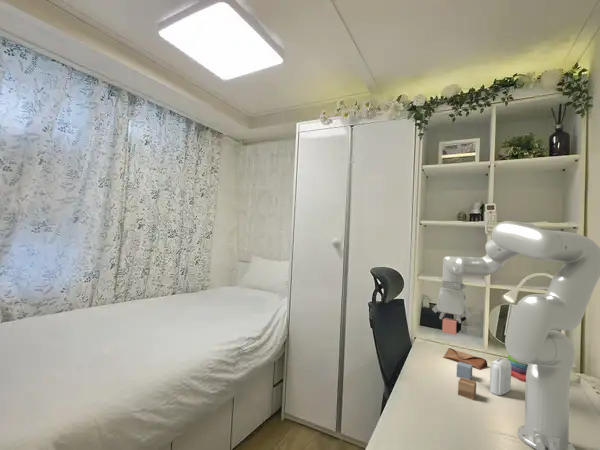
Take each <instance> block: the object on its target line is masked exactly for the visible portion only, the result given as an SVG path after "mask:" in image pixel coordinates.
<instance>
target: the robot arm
mask: <svg viewBox="0 0 600 450" xmlns="http://www.w3.org/2000/svg"><path fill="white" fill-rule="evenodd" d="M484 248H485V252H486V253H487V254H486V255H484V256H482V257H476V256H474V257H473V256H461V255H460V256H453V255H451V256H450V255H446V256H444V257H443V260H442V278H441V279H442V280H441V287H440V289H439V291H438V297H437V303H436V304H435V305H434V306H433V307H432V308H431V310H432V311H433V312H434V313H435V314H436V316H438V318H439V320H440V321H439V327H440V330H442V325H443V319H444V318H445V316H446V314H448V315H449V314H450V315H455V316H456V320H458V321H457V328H456V332H457V334H459V333H460V331H461V332H462V323H463V322H464V321H466V320H468V319H470V318H471V317H472V314H471V313H470V311H469V310H468V308H467V302H466V301H467V299H466V293H465V290H463V289H467V284H464V282H463V280H464V279H463V278H464V277H478V278H481V277H482V278H483V277H487V276H490V275H492V274H494V273H496V272H499V271H500V270H502V269H503V267H504V265H506V263H507V261H509V260H511V259H513V258H515V257H518V256H520V255H522V256H524V257H525V256H526V257H528V258H531V259H534V260H538V261H546V262H547V261H548V262H549V261H550V262H562V263H563V265H562V266H561V267H560V268H559V269H558V270H557V271H556V273H555V274H554V275H553V276H552V279H551V281H550V284H549V286H548V289H547V291H546V292H545V293H532V294H528V295H526V296H523V297H522V298H520V300H519V301H518V302H517V303H516V306H515V308H514V310H513V313H512V316H511V318H510V321H509V324H508V327H507V330H506V334H505V337H504V339H505V340H504V345H505V346H504V347H505V350H506V352H507V353H508V354H509V355H510V357H511V358H512V359H514V360H515V361H517V362H519V363H522V364H527V365H528V367H527V372H526V382H525V388H524V389H525V395H524V396H525V397H524V398H525V399H524V400H525V401H524V425H520V426H519V427H518V428H517V435H518V437H520V439H521V440H522V441H523V442H524V443H525V444H527V445H528V446H530V447H531V448H533V449H535V450H576V447H575V446H574V445H573V444H572V443H571V442H570V440H569V433H570V432H569V430H570V429H569V428H570V427H569V426H570V390H571V389H570V388H571V386H570V384H571V374H572V369H573V365H574V362H575V361H574V360H575V354H576V353H575V352H576V351H575V347H574V344H573V342H572V340H571V339H570V338H569V337H568V336H567V335H566V334H564V333H563V332H560V331H571V330H574V329H576V328H578V327H579V325H580V324H581V322H582V320H583V318H584V315H585V312H586V310H587V308H588V306H589V303H590V301H591V298H592V295H593V293H594V290H595V287H596V286H597V284H598V281H599V279H600V246H599V245H598V243H596V242H595V241H594V240H593V239H591V238H589V237H587V236H586V235H582V234H580V233H577V232H576V233H575V232H570V231H569V232H568V231H560V230H551V229H543V228H542V229H541V228H540V227H539V226H537V225H535V224H533V223H529V222H522V221H517V220H516V221H515V220H504V221H501V222H499V223H497V224H496V225H495V226H494V227H493V229H492V231H491V239H490V240H488V241H486V243H485V247H484ZM464 315H465V316H464ZM462 316H463V317H462Z"/></svg>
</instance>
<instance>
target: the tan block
mask: <svg viewBox="0 0 600 450" xmlns="http://www.w3.org/2000/svg"><path fill="white" fill-rule="evenodd" d="M457 396H461V397H463V398H466V399H469V400H471V401H474V400H475V398H476V396H477V381H475V380H472V379H471V380H469V379H466V378H463V377H461V378H460V377H459V380H458V385H457Z"/></svg>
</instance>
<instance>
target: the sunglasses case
mask: <svg viewBox="0 0 600 450" xmlns="http://www.w3.org/2000/svg"><path fill="white" fill-rule="evenodd" d="M442 358H443V359H447V360H448V361H449V360H450V361H453V362H456V363H459V362H463V363H466V364H470V365H473V366H472V369H475V370H479V371H483V369H485V368H488V361H487V360H486V359H485V358H482V357H480V356H476V355H475V356H474V355H471V354H469V353H466V352H462V351H459V350H456V349H453V348H452V347H451V348H450V347H449V348H448V349H447V351H446V352H445V353H444V356H442Z"/></svg>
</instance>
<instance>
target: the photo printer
mask: <svg viewBox="0 0 600 450" xmlns="http://www.w3.org/2000/svg"><path fill="white" fill-rule="evenodd" d="M489 371H490V373H489V374H490V375H489V391H490V392H491V394H494V395H497V396H502V395H504V394H507V393H509V392H510V391H511V389H512V388H511V387H512V385H511V384H512V376H511V363H510V361H509V360H508V358H504V357H499V358H497V359H496V358H495V360H493V361H492V362H491V364H490V370H489Z"/></svg>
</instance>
